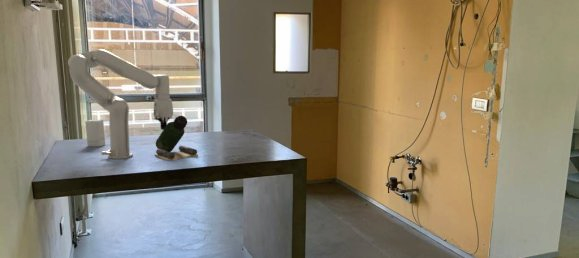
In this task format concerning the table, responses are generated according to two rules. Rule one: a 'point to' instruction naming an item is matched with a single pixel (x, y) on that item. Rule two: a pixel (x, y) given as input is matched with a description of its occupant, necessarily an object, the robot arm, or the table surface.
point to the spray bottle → (171, 134)
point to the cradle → (176, 153)
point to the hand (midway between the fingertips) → (163, 129)
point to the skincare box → (95, 133)
